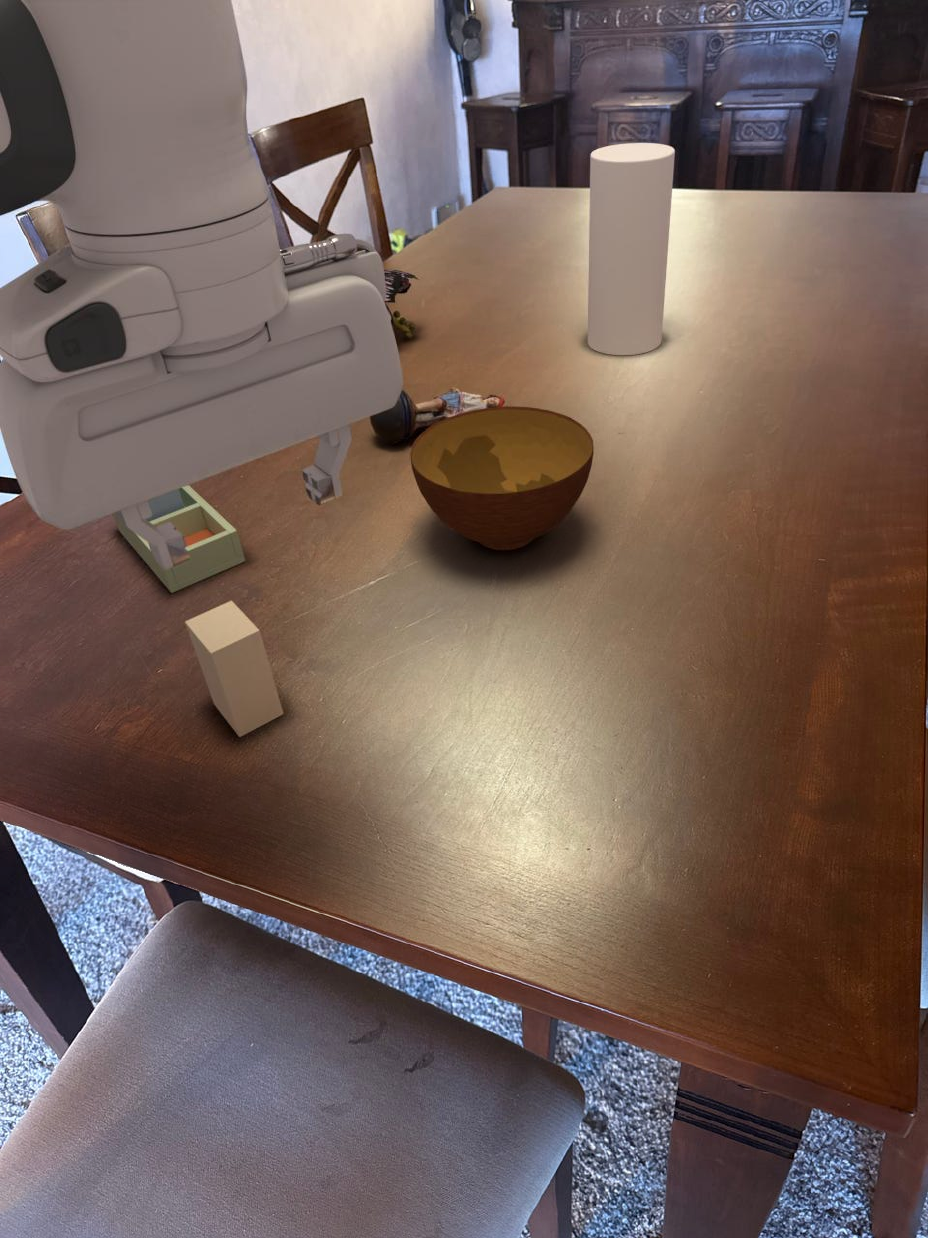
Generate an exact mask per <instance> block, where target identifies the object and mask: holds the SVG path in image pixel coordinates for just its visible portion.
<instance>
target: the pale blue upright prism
mask: <svg viewBox="0 0 928 1238" xmlns="http://www.w3.org/2000/svg"><path fill="white" fill-rule="evenodd" d="M148 502H149V505H150V509H151V512H152V516H151V517H150V518H147V519H146V520H148V521H149V522H150V521H152V520H155V519H157V518H160V517H163V516H165V515H168V514H170V513H173V512H175V511H178V510H180V509H183V508H185V507H184V504H183V501H182V498H181V495H180V492H179V489H177V490H174V491H171V492H169V493H166V494H163V495H161V496H158V497H156V498H153V499H150V500H148Z"/></svg>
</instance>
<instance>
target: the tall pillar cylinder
mask: <svg viewBox="0 0 928 1238" xmlns="http://www.w3.org/2000/svg"><path fill="white" fill-rule="evenodd" d="M675 155H676V150H675V148H674V147H672V146H670V145H667V144H663V143H657V142H656V143H655V142H654V143H653V142H628V143H619V144H612V145H611V144H610V145H607V146H603V147H600V148H597V149H595V150H592V152H591V153H590V157H589V158H590V160H589V161H590V163H589V219H588V220H589V221H588V223H589V225H588V226H589V227H588V282H587V283H588V286H587V287H588V288H587V289H588V293H587V295H588V296H587V298H588V299H587V345H588V346H589V348H590V349H592V350H594V351H596V352H598V353H601V354H604V355H612V356H634V355H635V356H636V355H640V354H646V353H649V352H651V351H654V350H656V349H657V348H658V347H659V346H661V344H662V340H663V339H662V338H663V327H664V311H665V310H664V309H665V300H666V299H665V297H666V282H667V270H668V269H667V267H668V253H669V241H670V240H669V239H670V227H671V212H672V211H671V210H672V196H673V185H674V183H673V182H674V171H675Z"/></svg>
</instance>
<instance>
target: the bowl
mask: <svg viewBox="0 0 928 1238" xmlns="http://www.w3.org/2000/svg"><path fill="white" fill-rule="evenodd" d="M594 449H595V448H594V440H593V437H592V435H591V433H590V432H589V431H588V429H587V428H586V427H585V426H584V425H583V424H581V423H580V422H578V421H577V420H575V419H574V418H572V417H570V416H567V415H566V414H562V413H559V412H556V411H554V410H553V411H552V410H547V409H544V408H543V409H542V408H538V407H531V406H515V405H514V406H502V407H493V408H484V409H478V410H473V411H469V412H464V413H460V414H457V415H454V416H452V417H449V418H446V419H444V420H442V421H440V422H437V423H436V424H434V425H430V426H429V427H428V428H427V429H425V430H423V431H422V432H421V433H420V434H419V435H418V436H417V437H416V439H415V440H414V442H413V444H412V446H411V448H410V465H411V470H412V473H413V476H414V479H415V482H416V485H417V488H418V489H419V492H420V494H421V495H422V497H423V499H424V500H425V502H426V503H427V505H428V506H429V509H431V510H432V512H433V513H434V514H435V515H436V517H437V518H438V519H439V520H440V521H441V522H442V523H444V524H445V525H446V527H448V528H449V529H451V530H452V531H454V532H455V533H456V534H459V535H460V536H462V537H464V538H466V539H469V540H472V541H474V542H477V543H480V545H482V546H483V547H486V548H488V549H492V550H496V551H497V550H498V551H511V550H515V549H520V548H521V547H524V546H526V545H528V544H529V543H530V542H532V541H533V540H534V539H537V538H539V537H542V536H543V535H545V534H546V533H548V532H550V531H552V530H553V529H554V528H555V527H557V526H558V525H559V524H560V523H561V522H563V520H565V518H566V517H567V516H568V514H569V513H570V512H571V510H572V509H573V508H574V506H575V505H576V503H577V502H578V500H579V499H580V498H581V495H582V493H583V492H584V489H585V487H586V485H587V483H588V480H589V477H590V474H591V469H592V466H593V460H594Z"/></svg>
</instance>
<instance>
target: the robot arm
mask: <svg viewBox="0 0 928 1238" xmlns="http://www.w3.org/2000/svg"><path fill="white" fill-rule="evenodd" d="M245 65H246V63H245V59H244V55H243V49H242V43H241V40H240V34H239V30H238V26H237V21H236V16H235V11H234V6H233V2H232V0H0V217H1V216H4V215H7V214H10V213H12V212H15V211H17V210H19V209H22V208H24V207H27V206H29V205H31V204H33V203H36V202H48V203H51V204H53V205H54V206H55V207H56V208H57V210H58V213H59V214H60V217H61V220H62V223H63V226H64V229H65V233H66V236H67V238H68V241H69V242H68V243H66V244H65V245H64V246H62V247H61V248H60V249H58V250H57V251H55V252H54V253H52V254H51V255H49V256H48V257H46V258H45V259H43V260H42V261H40V262H39V263H37V264H36V265H34V266H33V267H31V268H29V269H28V270H27V271H25V272H23V273H22V274H20V275H19V276H17V277H15V278H14V279H12V280H11V281H9V282H7V283H6V284H5V285H3V286H1V287H0V357H1V358H2V359H1V361H0V434H1V436H2V440H3V443H4V447H5V450H6V453H7V455H8V459H9V463H10V464H11V468H12V470H13V473H14V475H15V478H16V480H17V483H18V485H19V487H20V489H21V492H22V494H23V497H24V499H26V501H27V503H28V505H29V506H30V508H31V510H32V511H33V513H34V514H35V515H36V516H37V517H38V518H39V519H40V520H41V521H43V522H45V523H47V524H49V525H51V526H52V527H55V528H57V529H58V530H62V531H70V530H74V529H77V528H79V527H82V526H85V525H87V524H89V523H92V522H95V521H97V520H100V519H102V518H106V517H108V516H111V515H113V513H115V514H116V515H117V516H118V517H119V518H120V520H121V521H122V522H123V523H124V524H125V525H126V526H127V527H128V528H129V529H130V530H132V531H133V532H135V533H136V534H138V535H139V536H140V537H142V538H143V539H145V540H146V541H147V542H148V544H149V547H150V550H151V552H152V554H153V556H154V558H155V560H156V562H157V563H158V564H159V565H160V567H161V568H162V569H163V570H164V571H165V570H167V569H170V568H172V567H175V566H177V565H179V564H181V563H184V562H186V561H188V560H190V556H189V552H188V551H187V550H186V549H185V548H186V543H185V540H184V537H183V535H182V534H181V533H180V532H179V530H176V529H175V526H174V525H173V524H172V523H171V522H168V523H165V524H162V525H160V526H157V527H155V526H154V525H153V524H152V523H150V522H149V521H148V520H146V519H147V518H150V517H151V516H152V512H151V509H150V505H149V502H148V500H150V499H153V498H156V497H158V496H161V495H163V494H166V493H169V492H171V491H174V490H177V489H179V488H182V487H185V486H187V485H189V486H191V485H192V484H195V483H197V482H198V483H199V482H201V481H204V480H205V479H209V478H212V477H213V476H216V475H219V474H222V473H224V472H227V471H229V470H232V469H235V468H237V467H240V466H243V465H245V464H248V463H250V462H254V461H255V460H258V459H261V458H263V457H266V456H270V455H271V454H274V453H277V452H280V451H282V450H285V449H287V448H290V447H292V446H296V445H298V444H301V443H303V442H306V441H308V440H310V439H311V440H312V439H314V438H316V437H318V438H319V441H318V445H317V449H316V453H315V456H314V461H313V464H312V465H309V466H307V467H304V468H303V469H301V473H302V478H303V480H304V481H305V482H306V483H305V486H304V487H305V488H304V489H305V492H306V494H307V497H309V499H310V500H311V501H315V504H316V505H318V506H321V505H324V504H326V503H329V502H331V501H334V500H337V499H338V498H341V497H343V488H342V484H341V483H342V482H341V478H340V477H341V476H340V472H341V471H342V468H343V466H344V463H345V461H346V457H347V455H348V452H349V449H350V447H351V444H352V441H353V436H352V429H351V424H353V423H356V422H359V421H362V420H364V419H367V418H370V416H372V415H375V414H377V413H380V412H383V411H385V410H388V409H390V408H392V407H394V406H395V404H396V402H397V400H398V398H399V396H400V394H401V391H402V390H403V388H404V375H403V368H402V363H401V358H400V354H399V349H398V345H397V341H396V337H395V332H394V328H393V329H392V325H391V321H390V318H389V315H388V312H387V309H386V306H385V303H386V302H385V298H386V285H385V276H384V270H385V268H384V263H383V259H382V257H381V255H380V254H379V253H378V251H377V250H376V248H375V247H374V246H373V245H372V244H370V242H368V241H366V240H363V239H361V238H360V239H359V238H356V237H355V236H354V235H353V234H352V233H338V234H334V235H331V236H328V237H327V238H325V239H324V240H320V241H316V242H310V243H309V242H308V243H300V244H296V245H292V246H289V247H286V248H281V247H280V243H279V238H278V232H277V226H276V222H275V217H274V211H273V208H272V201H271V198H270V190H269V187H268V182H267V180H266V177H265V175H264V173H263V171H262V169H261V167H260V165H259V163H258V160H257V157H256V156H255V152H254V150H253V147H252V143H251V140H250V136H249V135H250V134H249V129H248V120H247V100H248V76H247V70H246V66H245ZM358 249H361V250H360V251H359V250H358Z"/></svg>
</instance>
